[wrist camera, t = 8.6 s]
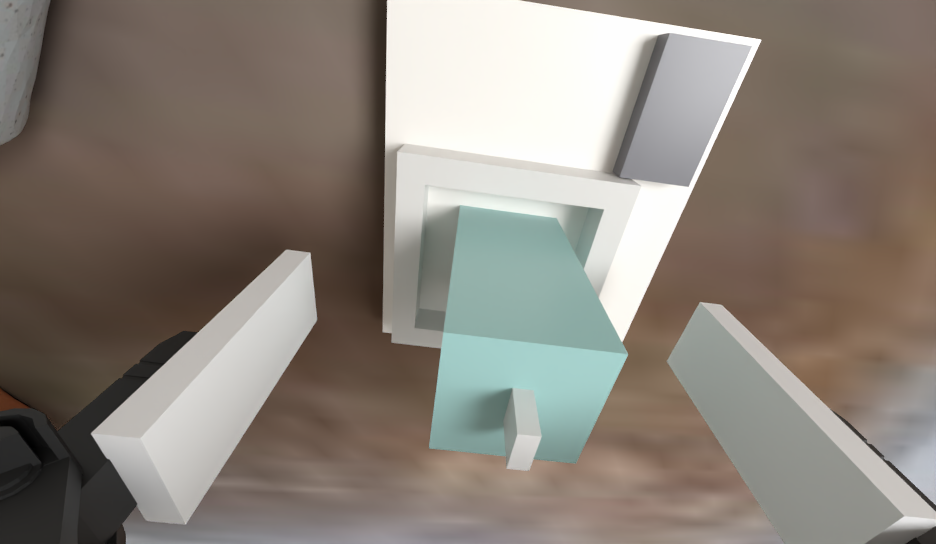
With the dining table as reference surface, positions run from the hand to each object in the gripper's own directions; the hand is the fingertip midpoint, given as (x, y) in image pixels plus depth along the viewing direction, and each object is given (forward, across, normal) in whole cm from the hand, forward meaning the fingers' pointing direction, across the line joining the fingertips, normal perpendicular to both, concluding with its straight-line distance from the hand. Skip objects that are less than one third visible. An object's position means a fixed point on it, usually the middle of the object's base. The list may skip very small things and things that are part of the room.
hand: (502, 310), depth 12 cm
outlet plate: (+5, -1, -2) cm, 6 cm away
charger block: (+4, 0, 0) cm, 4 cm away
